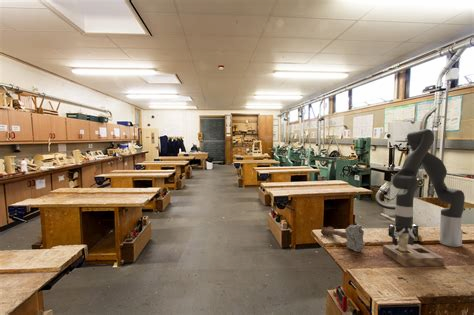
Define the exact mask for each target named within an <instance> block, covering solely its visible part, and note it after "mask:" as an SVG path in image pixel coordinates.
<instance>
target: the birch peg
mask: <svg viewBox="0 0 474 315" xmlns="http://www.w3.org/2000/svg"><path fill="white" fill-rule="evenodd" d="M408 244H409V242H408V233H402V234H401V235H400V236H398V238H397V245H398V251H399V252H400V253H407V252H408V250H407V247H408Z"/></svg>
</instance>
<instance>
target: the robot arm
mask: <svg viewBox="0 0 474 315" xmlns="http://www.w3.org/2000/svg"><path fill="white" fill-rule="evenodd" d="M406 140H407V143H408V145H409V147H410V148H411V149H412V152H411V153H410V154H409V155H408V156H407V157H406V158H405V159H404V161H403V164H402V166H401V168H400V170H399V171H398V172H397V173H396V174H395V175H394V177H393V179H392V182H391V183H392V185H393V188H395V189H399V190H405V191H407V192H406V193H405V192H404V193H401V192H400V193H397V194H396V196H395V197H396V200H395V207H394V208H395V209H394V212H395V214H394V222H395V225H392V224H389V225H388V229H389V230H388V234H387V235H388V236H389V237H391V244H392V245H395V246H397V245H398V236H400V235H401V234H402V233H408V235H409V236H410V237H409V242H408V244H410V245H413V244H415V242H414V238H415V237H418V234H419V226H418V225H417V224H413V223H414V196H415V192H416V191H417V188H418V186H419V185H418V184H419V180H418V179H417V177H416V175H418V173H419V169H420V167H421V166H422V167H423V170H424V171H425V173H426V175H427V176H428V178H429V180H430V182H431V184H432V187H433V189H434V192H435V193H436V197H437V199H438V200H439V201H440V202H441V203H444V204H447V205H450V206H449V208H442V209H441V210H440V219H439V220H440V222H439V225H440V227H439V243H440V244H442V245H443V246H448V247H453V248H459V247H462V245H463V229H462V217H463V216H462V215H463V213H464V210H465V209H464V207H465V200H466V198H465V192H463V190H460V189H456V188H449V187H448V186H447V185H446V183H445V179H446V177H447V173H448V170H447V168H446V166H445V163H444V162H443V161H442V160H441V159H440V158H439V157H437V156H436V155H435V154H433V153H431V152H429V150H430V149H431V147H432V145H433V143H434V140H435V135H434V133H433V131H432V130H431V129H429V128H426V129H425V128H424V129H421V130H414V131H411V132H408V133H407V135H406ZM394 230H395V231H394ZM397 232H399V233H397Z"/></svg>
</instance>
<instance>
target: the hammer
mask: <svg viewBox="0 0 474 315" xmlns="http://www.w3.org/2000/svg"><path fill="white" fill-rule="evenodd" d="M320 233H321V235H322V234H323V236H327V235H329V236H330V235H332V236H333V235H335V236H337V237H340V238H342V239H346V241H345V244H346V247H347V248H348V249H349V250H352V251H354V252H358V253H359V252H361V251H363V249H365V248H366V246H365V244H366V243H365V241H364V234H365V231H364V230H363V228H362V226H361V225H359V224H350V225H348V226H347V227H346V228H345V231H340V230H336V229H334V227H332V226H327V227H322V228H321V230H320Z"/></svg>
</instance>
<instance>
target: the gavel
mask: <svg viewBox="0 0 474 315" xmlns="http://www.w3.org/2000/svg"><path fill="white" fill-rule="evenodd" d="M387 230H388V231H389V228H388V229H387ZM394 231H395V230H394ZM397 233H399V232H397ZM409 237H410V236H409V235H408V243H409ZM422 240H423V237H422V236H421V234H419V233H418V237H415V238H414V241H416V242H417V241H421V242H422Z"/></svg>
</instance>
